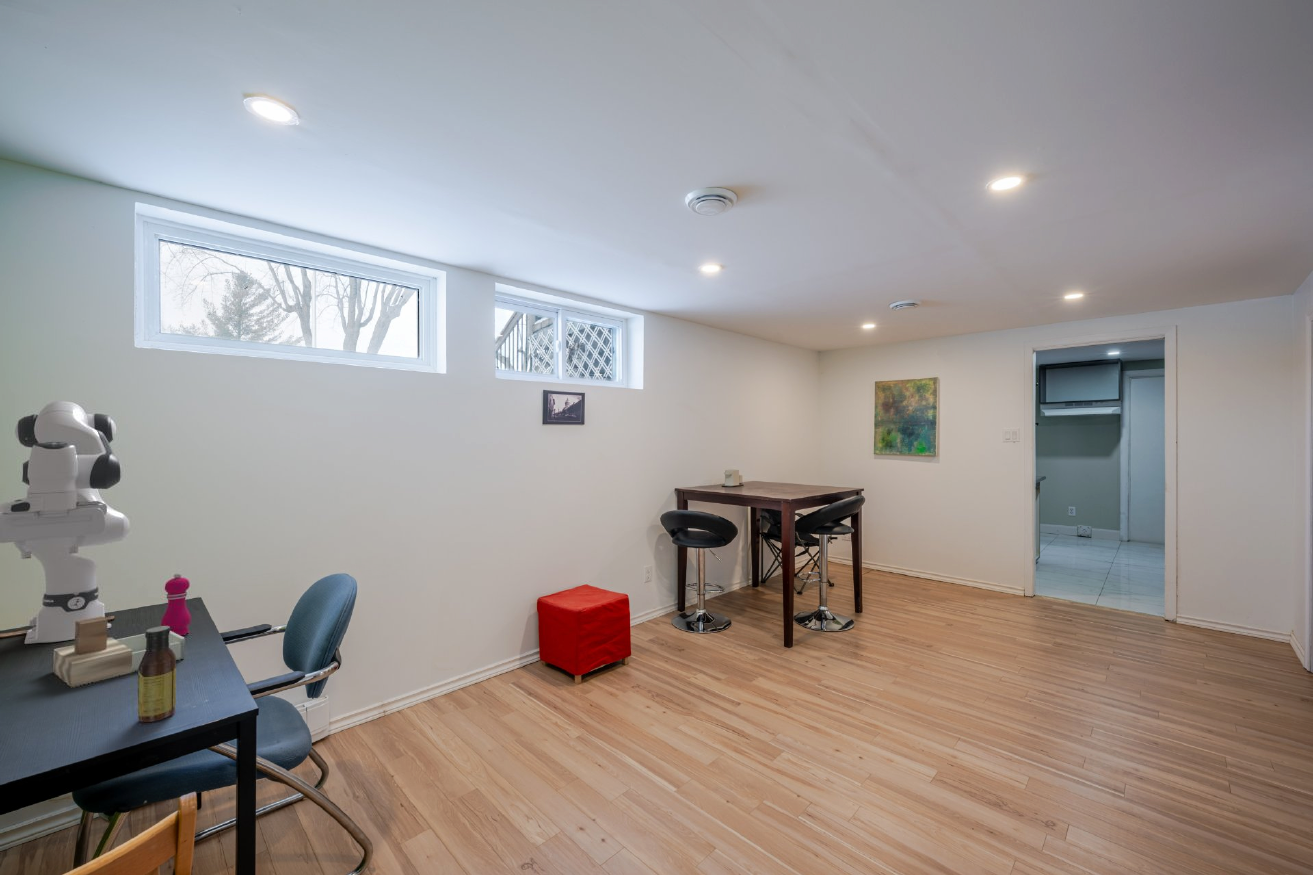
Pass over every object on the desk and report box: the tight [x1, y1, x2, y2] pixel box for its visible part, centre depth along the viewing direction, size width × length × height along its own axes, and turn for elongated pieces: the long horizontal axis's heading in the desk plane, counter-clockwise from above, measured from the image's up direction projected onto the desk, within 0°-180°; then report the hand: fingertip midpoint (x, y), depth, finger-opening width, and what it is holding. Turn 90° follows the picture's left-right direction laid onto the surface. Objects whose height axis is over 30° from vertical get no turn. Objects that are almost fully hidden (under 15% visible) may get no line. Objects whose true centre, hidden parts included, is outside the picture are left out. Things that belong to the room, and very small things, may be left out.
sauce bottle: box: [137, 625, 177, 723], centre depth 119 cm, size 7×6×20 cm
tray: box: [116, 631, 186, 673], centre depth 152 cm, size 18×11×6 cm, turn 58°
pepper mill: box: [160, 572, 192, 637], centre depth 171 cm, size 7×7×20 cm
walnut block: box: [73, 616, 109, 655], centre depth 142 cm, size 5×5×8 cm
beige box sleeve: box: [52, 636, 133, 689], centre depth 142 cm, size 18×11×6 cm, turn 58°
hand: (50, 555), depth 140 cm, fingers open, 7 cm apart
